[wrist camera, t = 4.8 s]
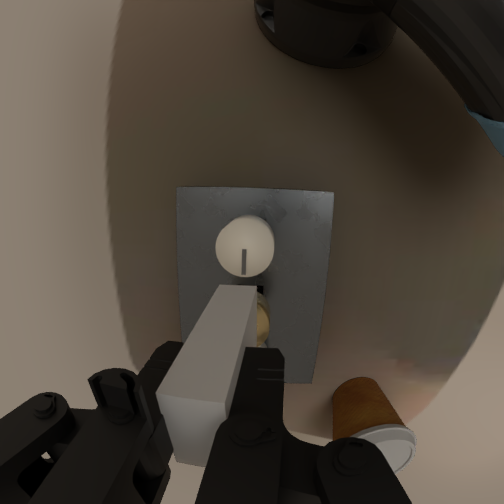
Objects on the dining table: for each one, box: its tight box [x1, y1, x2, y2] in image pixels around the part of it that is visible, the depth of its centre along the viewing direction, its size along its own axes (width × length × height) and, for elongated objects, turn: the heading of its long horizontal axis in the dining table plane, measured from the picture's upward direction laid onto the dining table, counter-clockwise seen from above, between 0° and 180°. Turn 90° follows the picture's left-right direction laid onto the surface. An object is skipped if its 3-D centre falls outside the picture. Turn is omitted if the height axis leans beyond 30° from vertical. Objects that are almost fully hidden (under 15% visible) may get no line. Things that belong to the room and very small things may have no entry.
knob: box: [215, 215, 275, 277], centre depth 23 cm, size 4×4×6 cm
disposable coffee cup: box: [333, 377, 417, 474], centre depth 27 cm, size 10×10×12 cm
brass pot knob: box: [256, 292, 271, 347], centre depth 24 cm, size 4×4×6 cm
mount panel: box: [176, 186, 334, 384], centre depth 29 cm, size 20×14×3 cm
